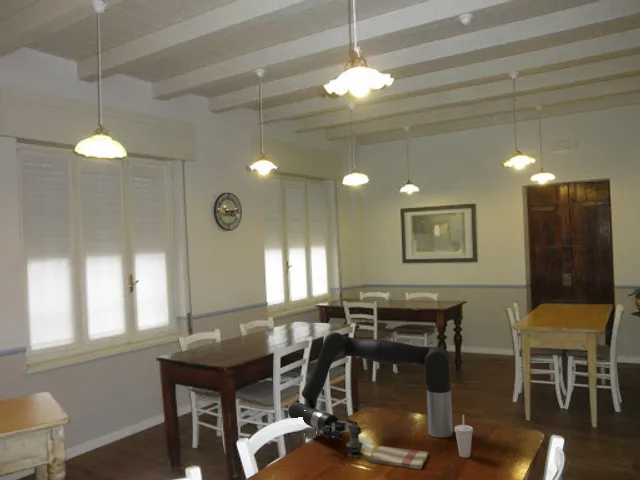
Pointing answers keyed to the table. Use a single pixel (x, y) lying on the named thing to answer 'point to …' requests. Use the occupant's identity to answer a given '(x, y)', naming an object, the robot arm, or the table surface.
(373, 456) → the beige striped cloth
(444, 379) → the robot arm
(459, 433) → the smoothie
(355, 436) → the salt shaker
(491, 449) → the table surface
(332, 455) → the table surface
